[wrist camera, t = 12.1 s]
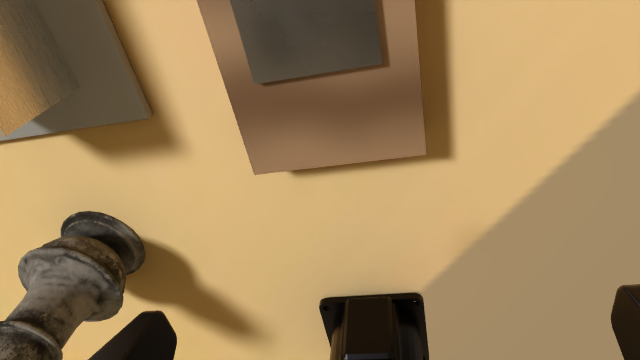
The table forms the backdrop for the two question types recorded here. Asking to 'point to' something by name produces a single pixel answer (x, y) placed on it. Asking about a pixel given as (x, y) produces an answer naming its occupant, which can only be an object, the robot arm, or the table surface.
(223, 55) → the body
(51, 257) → the weathered candle holder
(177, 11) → the table surface
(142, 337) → the robot arm
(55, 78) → the lever cap
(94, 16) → the rubber mat
